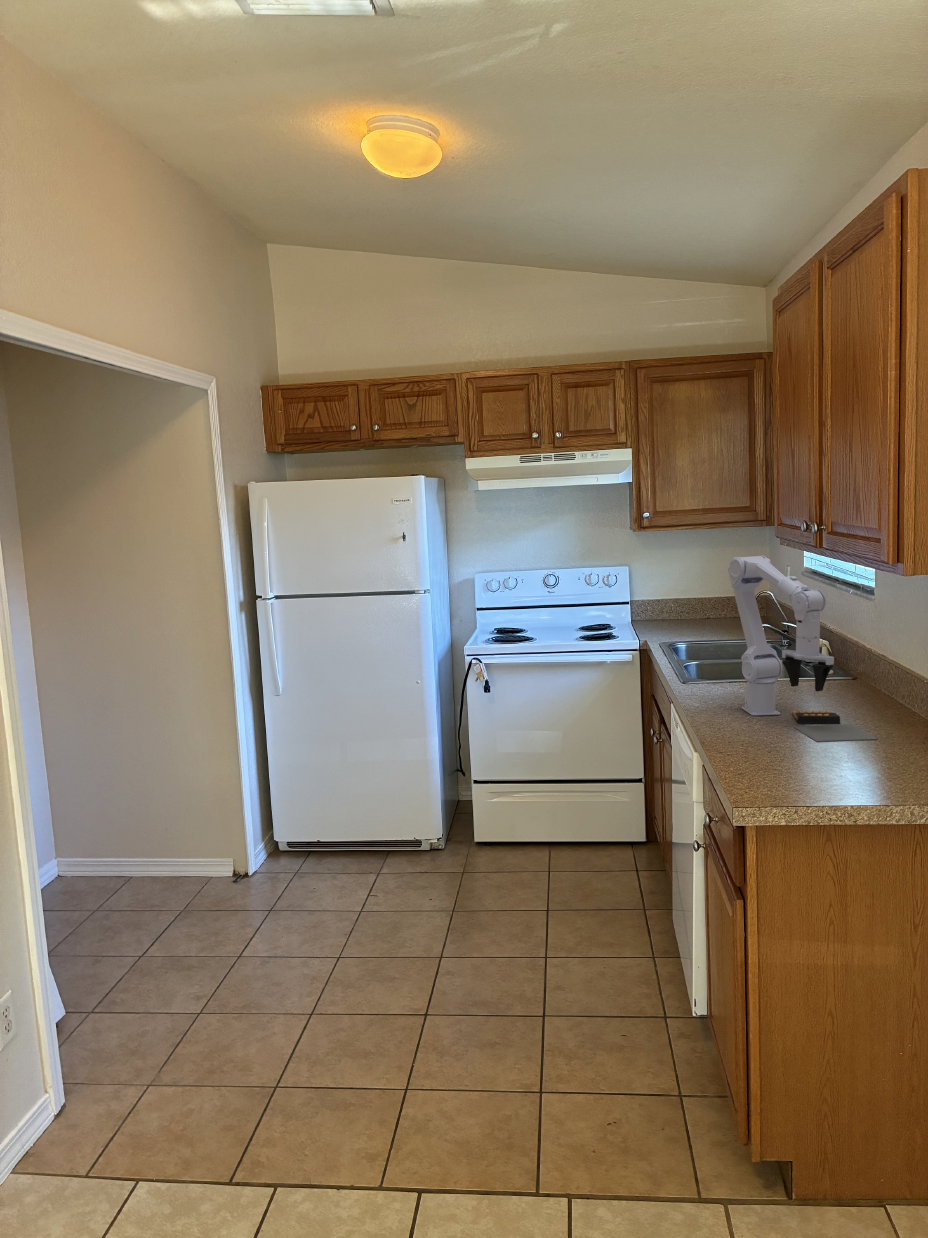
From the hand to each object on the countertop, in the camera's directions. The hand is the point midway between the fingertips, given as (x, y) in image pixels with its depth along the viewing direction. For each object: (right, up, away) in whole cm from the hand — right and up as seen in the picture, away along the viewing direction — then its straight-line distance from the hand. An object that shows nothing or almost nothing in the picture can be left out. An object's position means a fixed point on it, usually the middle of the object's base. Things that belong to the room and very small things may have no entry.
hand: (806, 688), depth 242 cm
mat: (+5, -11, -7) cm, 14 cm away
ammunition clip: (+4, -9, +3) cm, 10 cm away
